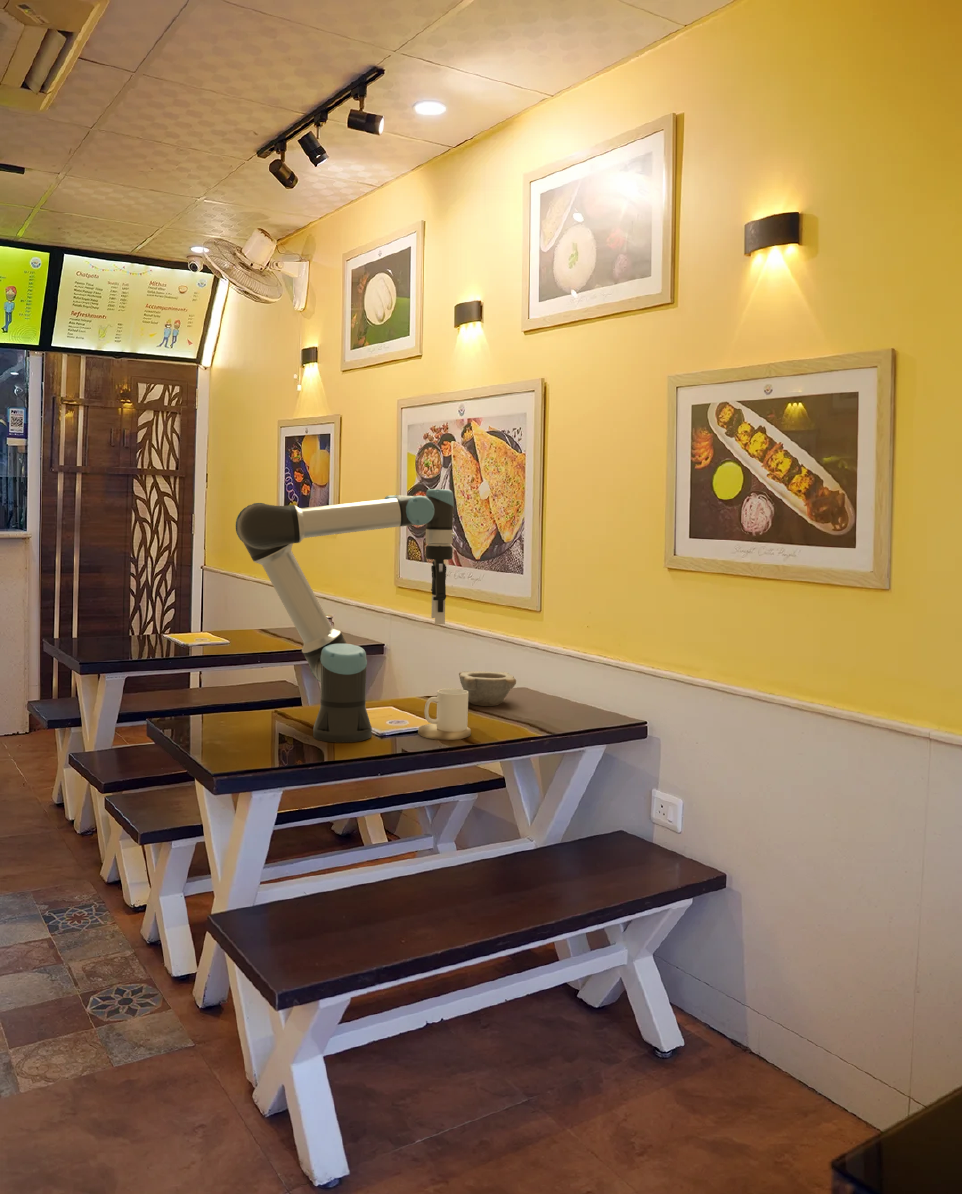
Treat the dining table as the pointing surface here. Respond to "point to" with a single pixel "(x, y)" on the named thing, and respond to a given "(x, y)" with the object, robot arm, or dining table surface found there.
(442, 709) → the cup
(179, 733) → the dining table surface
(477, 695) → the mortar
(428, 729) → the disc
